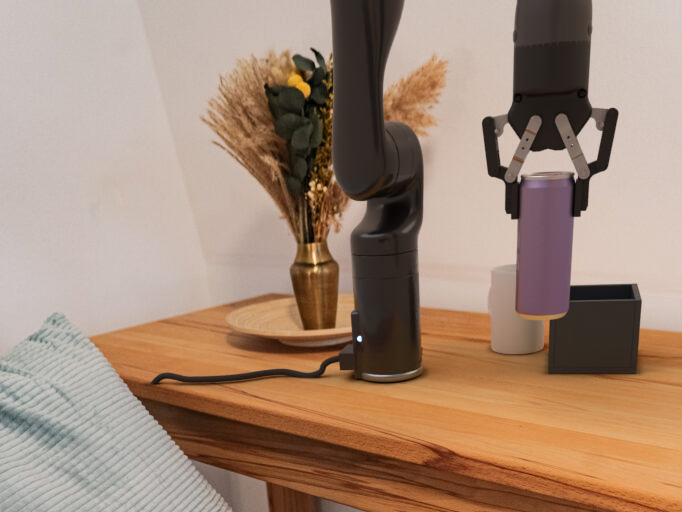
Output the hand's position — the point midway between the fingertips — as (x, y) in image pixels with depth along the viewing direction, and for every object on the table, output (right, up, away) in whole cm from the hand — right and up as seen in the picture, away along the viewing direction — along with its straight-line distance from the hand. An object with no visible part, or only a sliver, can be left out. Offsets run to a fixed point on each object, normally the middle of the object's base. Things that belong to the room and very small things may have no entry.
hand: (545, 216), depth 91 cm
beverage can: (+1, -10, +5) cm, 11 cm away
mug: (+4, -6, +40) cm, 41 cm away
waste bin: (+13, -11, +29) cm, 33 cm away
